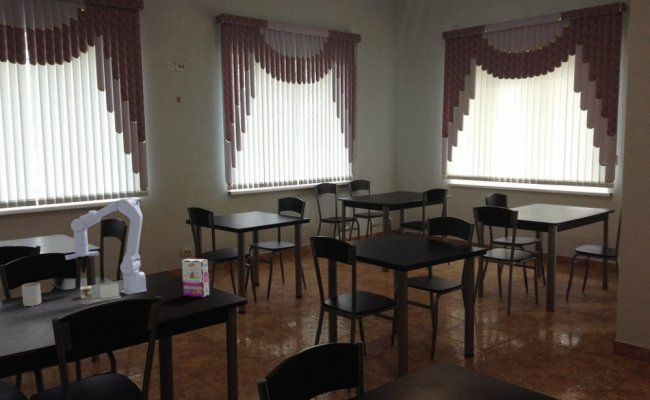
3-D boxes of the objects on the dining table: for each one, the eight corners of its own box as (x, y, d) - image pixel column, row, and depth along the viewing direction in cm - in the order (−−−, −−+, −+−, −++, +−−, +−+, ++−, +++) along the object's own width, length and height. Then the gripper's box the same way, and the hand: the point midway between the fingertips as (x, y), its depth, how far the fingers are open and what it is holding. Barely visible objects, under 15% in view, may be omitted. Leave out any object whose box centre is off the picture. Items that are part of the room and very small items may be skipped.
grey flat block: (118, 295, 271) (117, 283, 270) (119, 295, 270) (118, 283, 269) (100, 298, 266) (99, 286, 265) (101, 299, 265) (100, 286, 264)
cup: (24, 307, 258) (22, 287, 257) (21, 302, 267) (19, 283, 266) (42, 304, 262) (41, 284, 261) (39, 300, 270) (37, 280, 270)
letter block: (91, 295, 276) (91, 285, 276) (92, 297, 272) (91, 288, 272) (81, 296, 275) (80, 286, 274) (81, 299, 270) (80, 289, 270)
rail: (118, 296, 272) (118, 295, 272) (121, 297, 270) (121, 296, 270) (83, 303, 261) (83, 302, 261) (85, 305, 260) (85, 303, 260)
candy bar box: (210, 294, 271) (208, 259, 269) (203, 297, 266) (202, 261, 264) (189, 293, 275) (187, 257, 273) (182, 295, 270) (180, 260, 269)
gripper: (93, 240, 288) (95, 268, 289) (62, 245, 278) (64, 273, 280) (99, 242, 282) (101, 270, 284) (67, 246, 273) (69, 276, 274)
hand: (83, 272), depth 281 cm, fingers closed
